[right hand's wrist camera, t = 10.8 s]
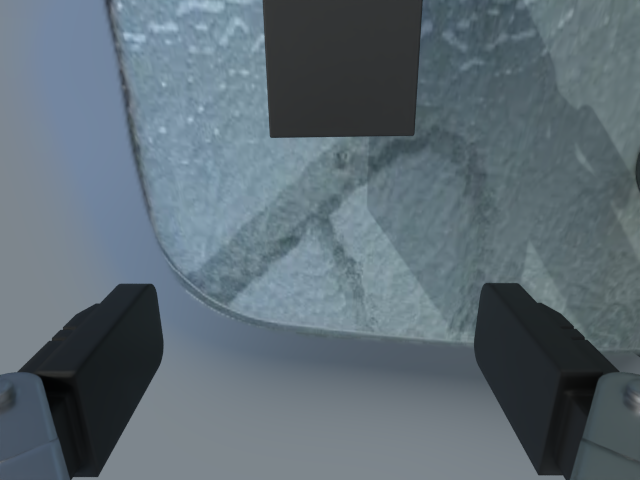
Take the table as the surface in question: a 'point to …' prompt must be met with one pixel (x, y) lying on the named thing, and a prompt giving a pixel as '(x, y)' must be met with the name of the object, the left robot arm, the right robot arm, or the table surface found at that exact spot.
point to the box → (342, 67)
